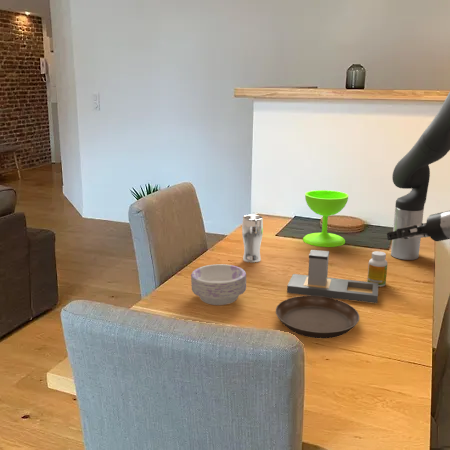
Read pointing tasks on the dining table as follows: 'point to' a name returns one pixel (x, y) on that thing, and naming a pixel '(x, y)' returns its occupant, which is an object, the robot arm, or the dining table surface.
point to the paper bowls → (218, 283)
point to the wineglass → (325, 215)
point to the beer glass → (252, 237)
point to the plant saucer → (317, 316)
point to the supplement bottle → (377, 268)
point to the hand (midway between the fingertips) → (396, 236)
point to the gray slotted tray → (330, 282)
